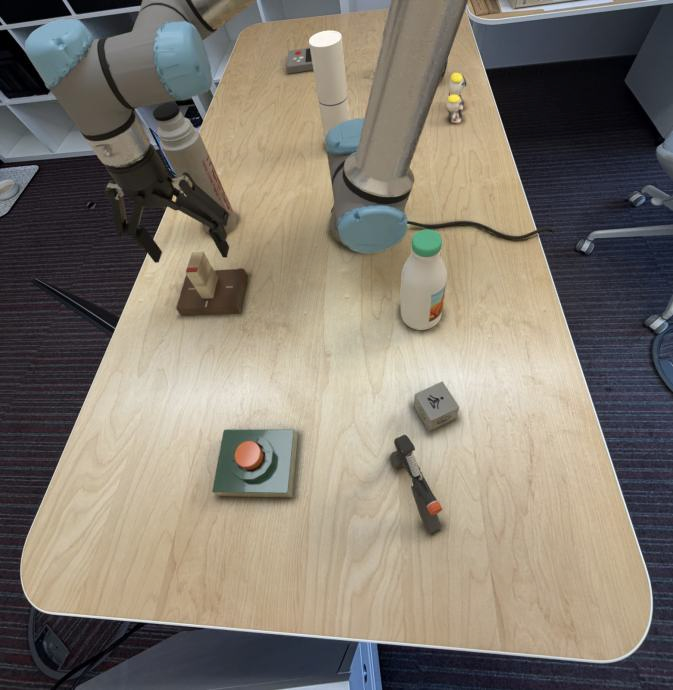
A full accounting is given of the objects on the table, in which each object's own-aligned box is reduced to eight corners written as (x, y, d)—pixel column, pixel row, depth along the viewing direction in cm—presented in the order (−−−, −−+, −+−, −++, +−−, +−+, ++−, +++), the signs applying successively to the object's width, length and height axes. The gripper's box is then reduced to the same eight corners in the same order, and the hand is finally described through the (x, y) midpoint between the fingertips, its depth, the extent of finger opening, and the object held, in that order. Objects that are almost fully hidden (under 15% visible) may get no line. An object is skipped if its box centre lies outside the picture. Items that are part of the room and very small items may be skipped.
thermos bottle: (240, 213, 101) (192, 96, 77) (230, 236, 97) (176, 121, 73) (211, 211, 103) (155, 97, 79) (200, 234, 99) (137, 121, 75)
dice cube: (413, 406, 70) (414, 394, 66) (439, 394, 70) (442, 381, 66) (428, 431, 67) (430, 420, 63) (455, 418, 68) (459, 407, 64)
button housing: (297, 435, 70) (291, 425, 66) (292, 497, 65) (284, 490, 60) (230, 435, 71) (219, 425, 67) (219, 495, 66) (207, 489, 62)
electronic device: (287, 49, 136) (332, 43, 135) (289, 58, 138) (333, 51, 137) (286, 65, 131) (333, 59, 129) (288, 74, 133) (334, 67, 131)
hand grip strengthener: (428, 537, 59) (437, 522, 47) (388, 459, 66) (386, 427, 53) (442, 530, 60) (455, 513, 47) (401, 452, 66) (402, 419, 53)
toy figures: (461, 125, 108) (466, 92, 101) (444, 125, 109) (447, 92, 102) (463, 99, 114) (468, 66, 107) (447, 99, 115) (450, 67, 107)
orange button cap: (265, 444, 65) (261, 440, 63) (262, 470, 63) (258, 467, 61) (241, 444, 65) (236, 440, 64) (236, 470, 63) (232, 466, 62)
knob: (207, 278, 88) (191, 250, 81) (218, 277, 87) (202, 250, 80) (202, 298, 85) (184, 272, 78) (213, 298, 85) (196, 271, 78)
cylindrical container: (321, 151, 110) (303, 46, 88) (331, 135, 113) (316, 29, 91) (346, 155, 107) (334, 47, 86) (356, 138, 111) (346, 31, 89)
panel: (247, 276, 90) (243, 267, 88) (240, 313, 85) (236, 305, 83) (191, 278, 92) (186, 271, 89) (181, 315, 87) (175, 308, 84)
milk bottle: (414, 338, 77) (419, 265, 60) (392, 309, 81) (391, 234, 64) (449, 319, 78) (464, 243, 61) (426, 292, 82) (433, 213, 65)
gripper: (40, 178, 60) (125, 274, 78) (203, 160, 56) (252, 265, 74) (60, 146, 63) (137, 245, 81) (213, 128, 60) (258, 235, 78)
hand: (192, 254), depth 78 cm, fingers open, 13 cm apart
